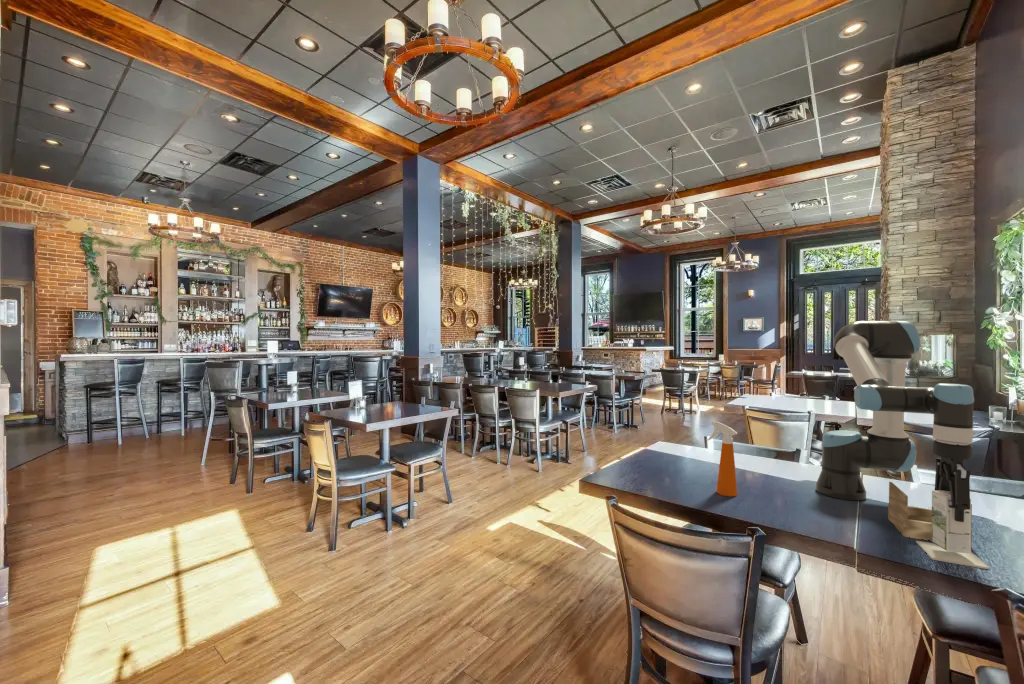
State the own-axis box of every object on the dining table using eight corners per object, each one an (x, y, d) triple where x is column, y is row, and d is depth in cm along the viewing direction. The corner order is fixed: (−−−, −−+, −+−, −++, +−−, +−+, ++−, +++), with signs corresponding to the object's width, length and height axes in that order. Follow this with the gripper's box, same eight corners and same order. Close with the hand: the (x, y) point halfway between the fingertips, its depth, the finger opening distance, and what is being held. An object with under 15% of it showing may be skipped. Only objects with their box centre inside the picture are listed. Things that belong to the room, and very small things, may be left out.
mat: (931, 559, 116) (931, 557, 116) (916, 542, 126) (916, 540, 126) (989, 569, 111) (989, 567, 111) (968, 550, 121) (968, 549, 121)
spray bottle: (709, 486, 172) (709, 419, 172) (739, 493, 165) (740, 422, 165) (703, 491, 167) (704, 421, 166) (734, 498, 160) (735, 425, 160)
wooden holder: (904, 536, 130) (904, 495, 130) (888, 518, 143) (888, 481, 143) (971, 547, 123) (972, 504, 123) (948, 527, 136) (949, 488, 136)
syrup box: (972, 553, 115) (973, 498, 115) (945, 551, 117) (946, 496, 116) (955, 544, 121) (956, 491, 121) (929, 541, 122) (930, 489, 122)
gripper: (990, 451, 108) (989, 545, 108) (954, 436, 126) (953, 517, 126) (949, 448, 111) (948, 539, 112) (920, 433, 129) (918, 512, 129)
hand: (950, 527), depth 119 cm, fingers closed on syrup box, 7 cm apart
